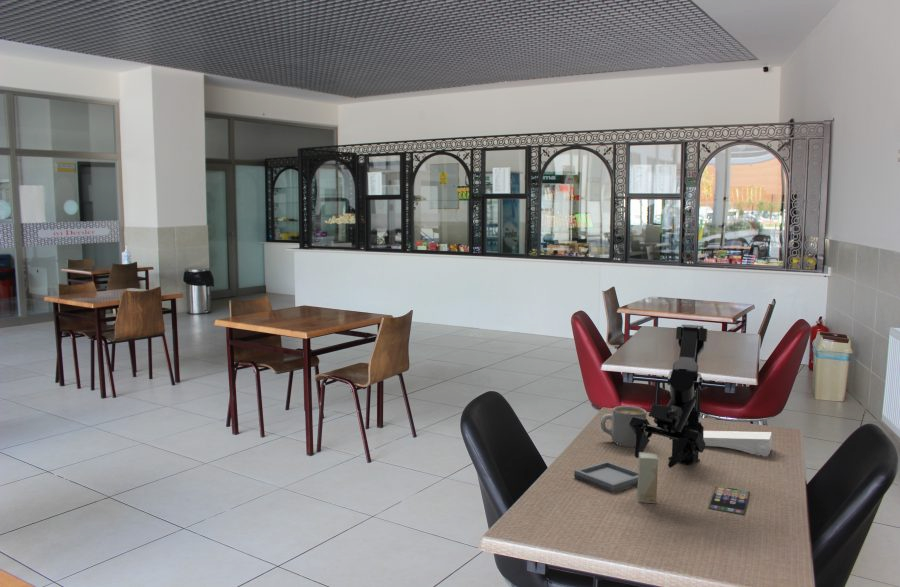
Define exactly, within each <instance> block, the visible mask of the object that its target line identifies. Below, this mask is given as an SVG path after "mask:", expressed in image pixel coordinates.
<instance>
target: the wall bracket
mask: <svg viewBox="0 0 900 587" xmlns="http://www.w3.org/2000/svg"><path fill="white" fill-rule="evenodd" d="M671 440H672V441H673V439H671ZM703 440H704V441H705V447H716V448H717V447H720V448H727V449H732V450H738V451H742V452H745V453H749V454H751V455H754V454H756V455H755V456H760V455H762V456H761V457H768V456H769V455H770V452H771V450H772V447H773V432H772V431H736V430H735V431H734V430H733V431H731V430H730V431H729V430H704V434H703Z"/></svg>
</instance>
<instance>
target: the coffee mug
mask: <svg viewBox="0 0 900 587" xmlns="http://www.w3.org/2000/svg"><path fill="white" fill-rule="evenodd" d="M635 416H637V417H641V418H645V419H647V410H645V409H644V408H641V407H638V406H629V405H627V406H626V405H622V406H621V405H619V406H615V407H613V409H612V414H611V413H608V414H607V413H606V414H604V415H603V416H602V417H601V419H600V427H601V430H602V432H603V433H605V434H607V435H610V436H611V441H612V440H613V442H615V443H618V444H621V445H626V446H625V447H627V446H636V434H635V433H634V431H633V430H632V428H631V426H630V425H629V422H630V420H631V418H632V417H635ZM607 420H610V421H611V427H610V428H607V427H606V421H607ZM613 442H612V443H613ZM615 443H614V444H615ZM618 444H617V445H618ZM621 445H620V446H621Z"/></svg>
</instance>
